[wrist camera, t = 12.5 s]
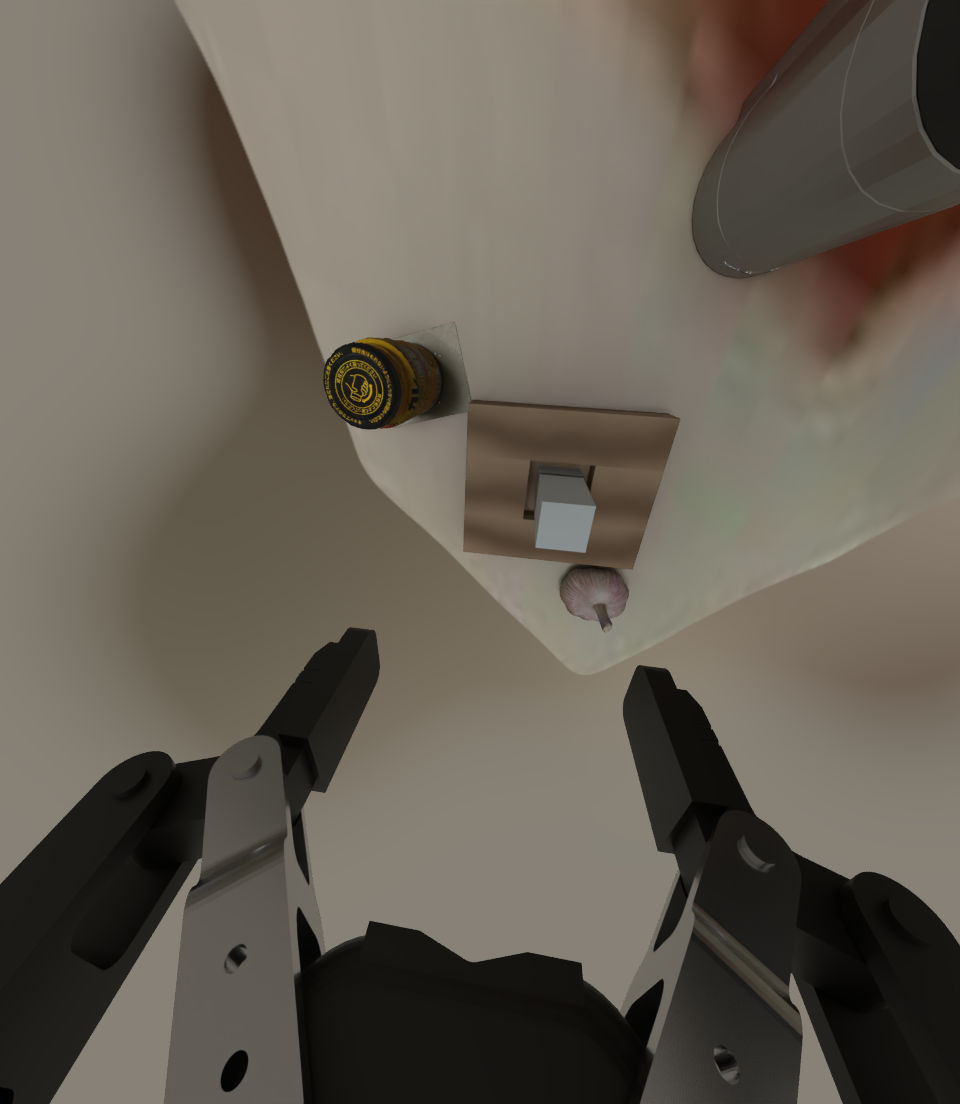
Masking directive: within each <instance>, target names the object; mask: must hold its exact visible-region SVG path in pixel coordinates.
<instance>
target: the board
mask: <svg viewBox="0 0 960 1104" xmlns="http://www.w3.org/2000/svg"><path fill="white" fill-rule="evenodd" d="M679 422H680V418H677V417H675V416H672V415H670V414H665V413H651V412H637V411H623V410H609V409H595V408H581V407H566V406H552V405H538V404H524V403H510V402H496V401H482V400H472V401H471V402H470V403H468V427H467V457H466V488H465V519H464V549H463V552H473V553H482V554H491V555H501V556H510V557H519V558H529V559H538V560H548V561H557V562H566V563H576V564H585V565H594V566H604V567H613V568H622V569H632V570H633V567H634V563H635V560H636V557H637V554H638V551H639V548H640V544H641V541H642V538H643V535H644V532H645V529H646V526H647V522H648V519H649V516H650V513H651V510H652V507H653V503H654V500H655V497H656V494H657V491H658V488H659V485H660V481H661V478H662V475H663V472H664V469H665V466H666V462H667V459H668V456H669V453H670V450H671V447H672V444H673V440H674V437H675V434H676V431H677V428H678V425H679ZM539 466H549V467H561V468H573V469H580V471H581V474H582V476H584V480H585V483H586V485H587V487H588V489H589V492H590V494H591V496H592V498H593V501H594V503H595V505H596V509H595V513H594V518H593V522H592V526H591V531H590V535H589V539H588V544H587V548H586V552H585V553H582V552H573V551H563V550H553V549H544V548H535V516H534V500H535V493H536V485H537V478H538V471H539Z"/></svg>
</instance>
